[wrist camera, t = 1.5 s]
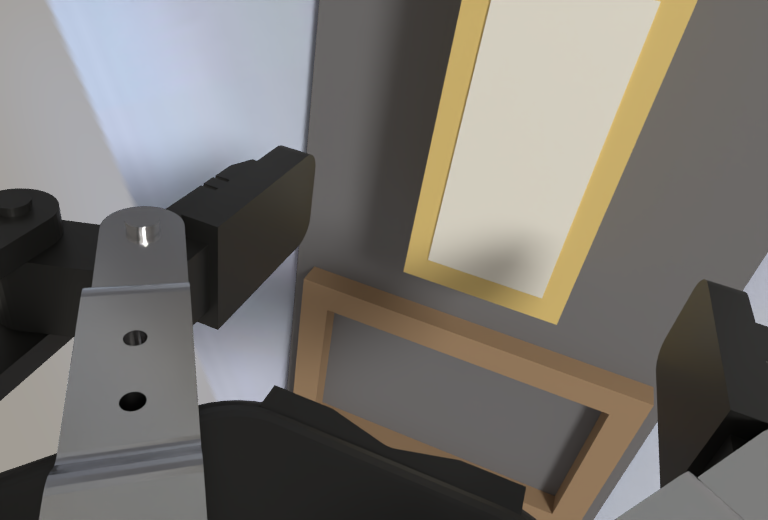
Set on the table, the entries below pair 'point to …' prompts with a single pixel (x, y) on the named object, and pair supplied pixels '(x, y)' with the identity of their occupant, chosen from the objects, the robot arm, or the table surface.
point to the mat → (495, 322)
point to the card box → (535, 141)
